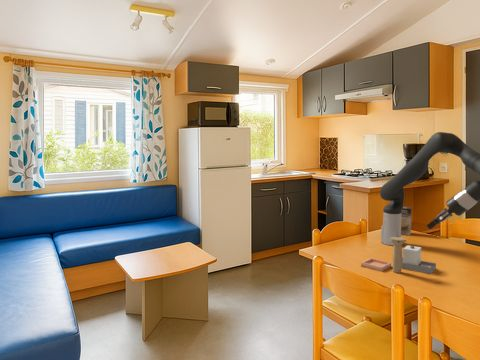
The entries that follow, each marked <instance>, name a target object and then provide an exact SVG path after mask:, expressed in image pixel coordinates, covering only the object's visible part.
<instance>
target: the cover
mask: <svg viewBox="0 0 480 360" xmlns="http://www.w3.org/2000/svg"><path fill="white" fill-rule="evenodd" d="M402 257H403V263H407V264H412V265H419V264H420V263H421V261H422V247H421V246H415V245H406V246H404V247H402Z"/></svg>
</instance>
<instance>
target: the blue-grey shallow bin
mask: <svg viewBox="0 0 480 360" xmlns="http://www.w3.org/2000/svg"><path fill="white" fill-rule="evenodd" d="M436 267H437V263H436V262H430V261H424V260H421V263H420V264H419V265H412V264H407V263H403V256H402V268H401V269H403V270H407V271H408V270H410V271H415V272H419V273H426V274H431V275H432V274H433V273H434V271H436V269H437V268H436Z"/></svg>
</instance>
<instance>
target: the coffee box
mask: <svg viewBox="0 0 480 360" xmlns="http://www.w3.org/2000/svg"><path fill="white" fill-rule="evenodd" d="M412 210H413V209H412V206H403V208H402V211H401V236H402V235H405V236H411V231H412V230H411V229H412Z"/></svg>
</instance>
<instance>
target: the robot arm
mask: <svg viewBox="0 0 480 360" xmlns="http://www.w3.org/2000/svg"><path fill="white" fill-rule="evenodd" d="M438 153H440V154H441V153H442V154H451V155H454V156H456V157H458V158H460V160H461V162H462V164H463V165H465V166H466V167H467V168H468V169H470V170H471V171H473V172H474V173H476V174H478V175H480V153H479V152H477V151H476V150H475V149H472V148H471V147H470V146H469V145H468V144H466V143H465V142H464V141H463V140H462V139H461V138H460V137H459V136H458V135H456V134H454V133H451V132H444V131H438V132H435V133H434V134H432V135H431V136H430V137H429V139H428V140H427V141H426V142H425V144H424V145H423V146H422V148H420V150H419V151H418V152H417V153H416V154H415V155H414V156H413V157H412V158H411V159H410V160H409V161H408V162H407V163H406V164H405V165H404V166H403V167H402V168H401V170H399V171H398V172H397V173H396V174H395V175H394V176H393V177H391V179H389V180H388V181H387V182H386V183H385V182H384V184H383V185H382V186H381V187H380V191H379V195H380V198H381V199H382V200H383V201H387V202H389V203H387V204H386V205H384V206H383V208H382V209H383V210H382V211H383V217H382V218H383V219H382V225H381V227H380V228H381V230H380V236H381V237H380V243H381V244H384V245H387V246H394V243H392V242H391V241H390V238H391V237H401V238H402V234H401V211H402V208H403V207H404V201H405V189H404V187H406V186H408V185H410V184H412V183H415V182H416V181H418V180H419V179H420V178H422V176H423V175H425V173H427V171H428V169H429V164H430V160H431V159H432V157H434V156H435V155H436V154H438ZM478 202H480V180H474V181H472V182H471V183H470V184H469V185H467V186H466V187H465V188H463V189H462V190H460V191H458V192H457V193H456V194H455V195H452V197H450V198H449V199H448V200H446V203H445V204H446V206H447V207H448V208H447V207H445V208H444V209H443V210H441V211H440V213H438V214H437V215H436V217H435V218H433V220H432V221H431V222H429V223H428V224H427V225H426V227H427V228H428V229H429V230H431V229H433V228H435V226H437V225H439V224H440V223H444V222H445V221H446V220H448V219H450V218H452V217H453V214H455V215H456V216H458V217H460V216H462V215H463V214H464V213H466V212H467V211H469V210H470V209H471V208H473V207H474V206H476V204H477V203H478Z"/></svg>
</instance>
